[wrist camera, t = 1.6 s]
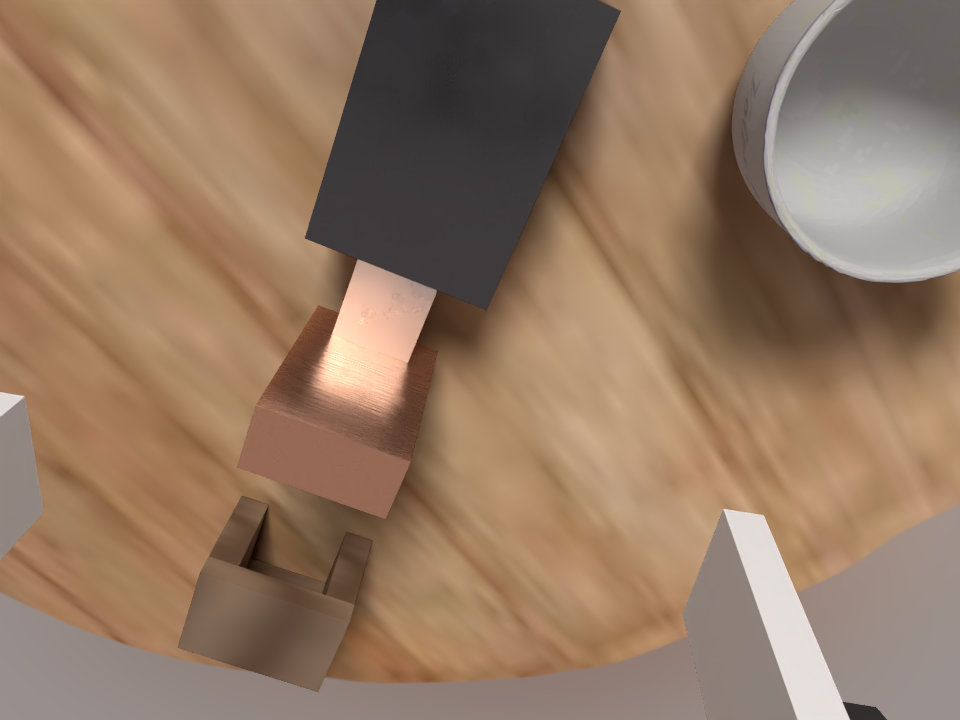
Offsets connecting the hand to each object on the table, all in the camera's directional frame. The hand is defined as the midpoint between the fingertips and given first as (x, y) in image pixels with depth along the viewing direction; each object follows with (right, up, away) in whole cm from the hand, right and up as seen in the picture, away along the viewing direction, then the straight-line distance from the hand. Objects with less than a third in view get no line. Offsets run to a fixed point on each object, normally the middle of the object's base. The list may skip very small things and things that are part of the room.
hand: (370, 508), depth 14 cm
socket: (-9, -9, +31) cm, 33 cm away
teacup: (+18, +13, +17) cm, 29 cm away
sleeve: (+1, +14, +18) cm, 23 cm away
